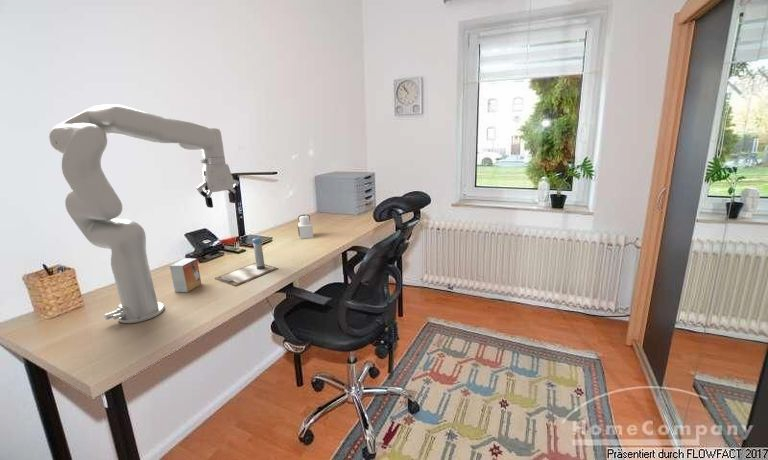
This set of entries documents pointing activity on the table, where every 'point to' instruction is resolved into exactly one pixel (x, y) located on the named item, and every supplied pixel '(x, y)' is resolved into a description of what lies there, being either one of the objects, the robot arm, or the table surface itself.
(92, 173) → the robot arm
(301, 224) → the medicine bottle
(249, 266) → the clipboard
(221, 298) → the table surface
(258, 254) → the marker
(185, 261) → the small box
